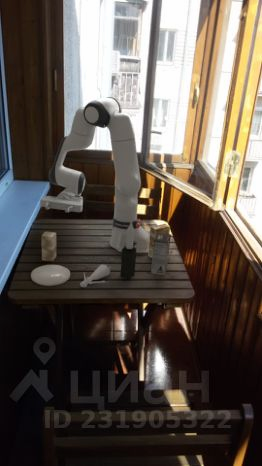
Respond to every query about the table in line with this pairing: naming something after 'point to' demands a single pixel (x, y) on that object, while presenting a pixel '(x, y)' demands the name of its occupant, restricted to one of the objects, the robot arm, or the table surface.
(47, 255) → the maple block
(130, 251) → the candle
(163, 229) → the candy box
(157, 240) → the coffee box
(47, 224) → the table surface
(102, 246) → the table surface
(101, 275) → the woman figurine
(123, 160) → the robot arm
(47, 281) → the plate
